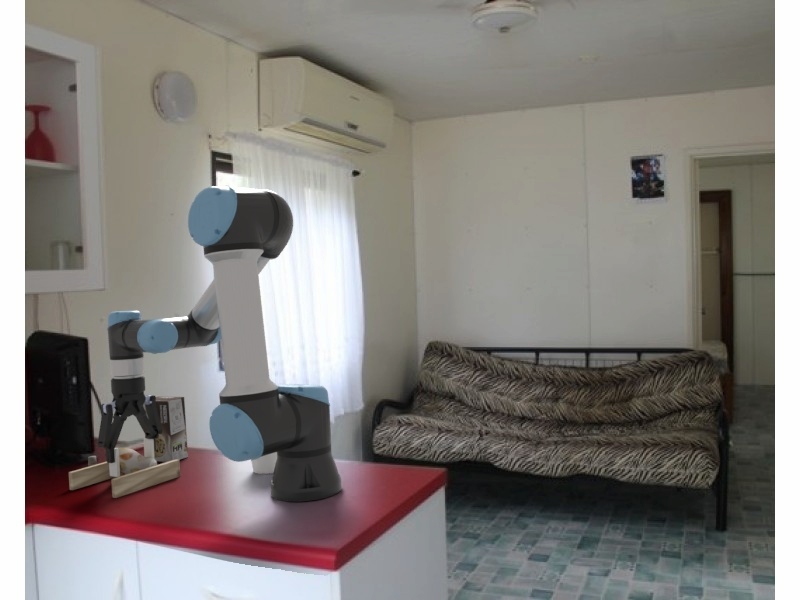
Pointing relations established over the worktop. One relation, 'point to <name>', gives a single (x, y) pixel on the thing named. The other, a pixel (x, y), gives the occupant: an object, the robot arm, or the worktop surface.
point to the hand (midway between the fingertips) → (132, 470)
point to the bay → (124, 477)
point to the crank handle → (92, 460)
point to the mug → (133, 461)
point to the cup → (265, 464)
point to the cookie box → (171, 429)
